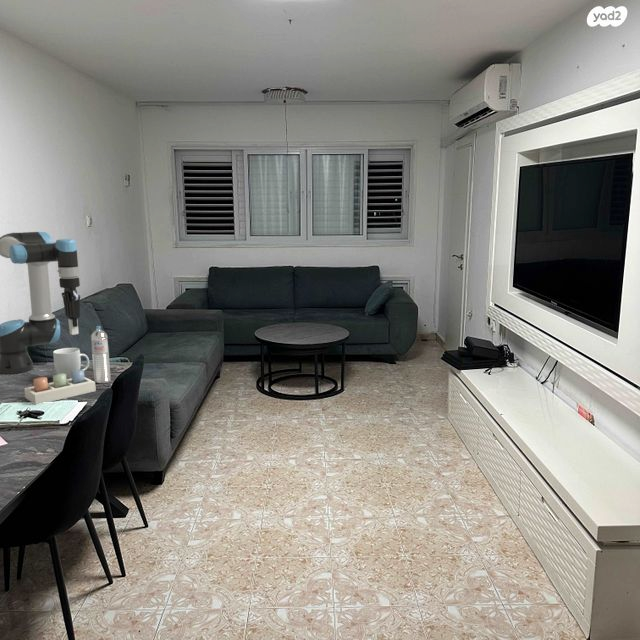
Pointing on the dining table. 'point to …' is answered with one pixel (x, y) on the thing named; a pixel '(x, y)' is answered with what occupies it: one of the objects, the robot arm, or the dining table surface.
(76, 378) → the button blue
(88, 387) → the cream button tray
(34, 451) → the dining table surface
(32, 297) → the robot arm
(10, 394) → the dining table surface
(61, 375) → the button sage
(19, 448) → the dining table surface
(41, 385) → the button terracotta
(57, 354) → the mug
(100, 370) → the water bottle
